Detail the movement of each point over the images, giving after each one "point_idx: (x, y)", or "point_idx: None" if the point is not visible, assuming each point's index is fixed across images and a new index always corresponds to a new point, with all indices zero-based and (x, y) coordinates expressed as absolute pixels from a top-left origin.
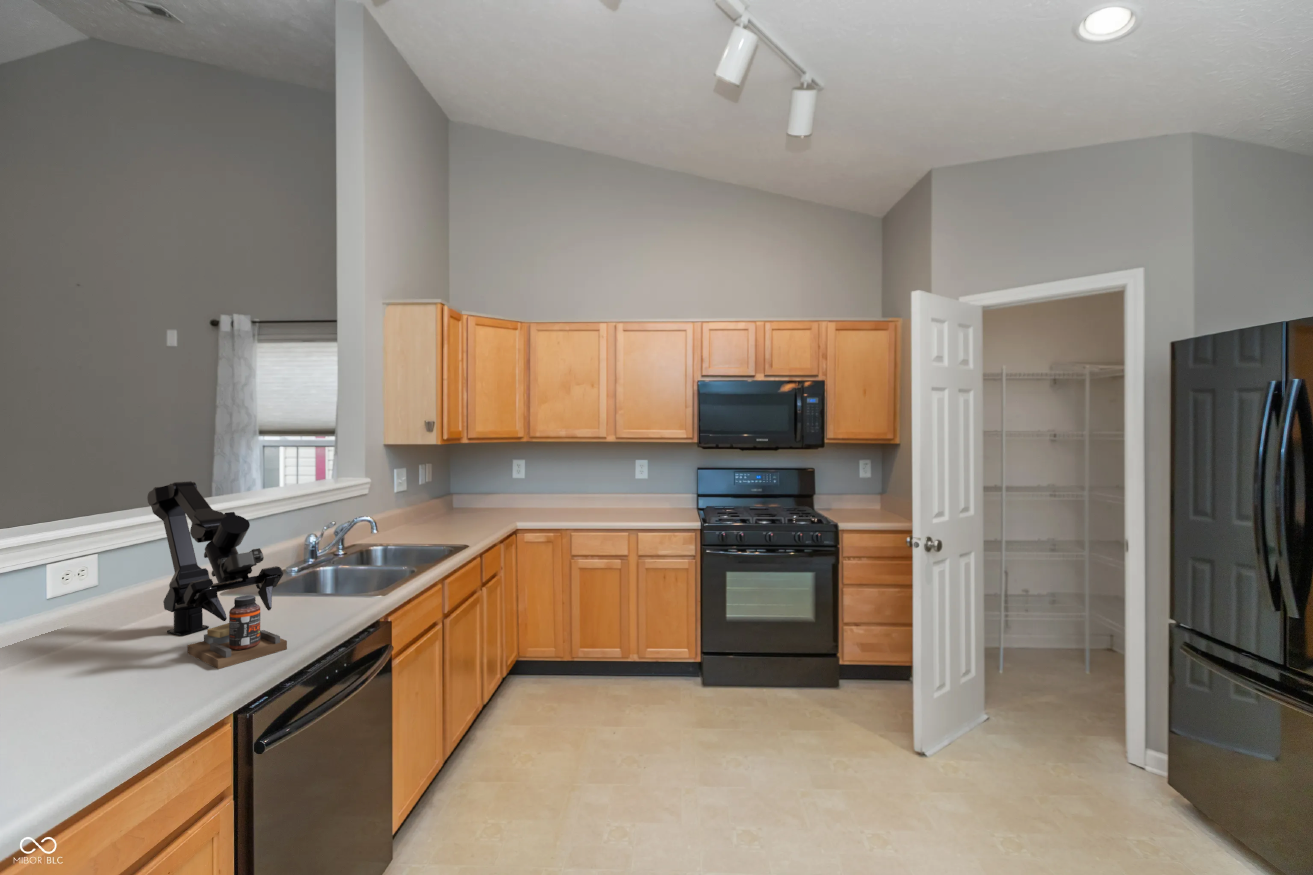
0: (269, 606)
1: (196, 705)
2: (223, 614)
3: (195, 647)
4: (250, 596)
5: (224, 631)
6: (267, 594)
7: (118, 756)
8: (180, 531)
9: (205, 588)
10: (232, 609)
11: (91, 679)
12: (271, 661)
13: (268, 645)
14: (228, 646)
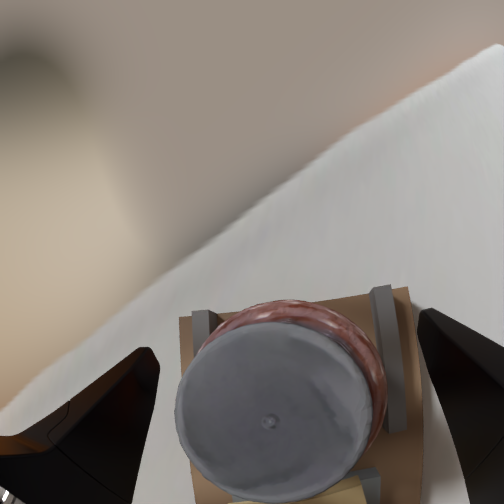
0: (144, 352)
1: (436, 112)
2: (445, 322)
3: (416, 484)
4: (215, 408)
5: (340, 489)
6: (89, 405)
7: (482, 64)
8: None
9: None
10: (377, 394)
11: None
12: (265, 243)
13: None
14: None
